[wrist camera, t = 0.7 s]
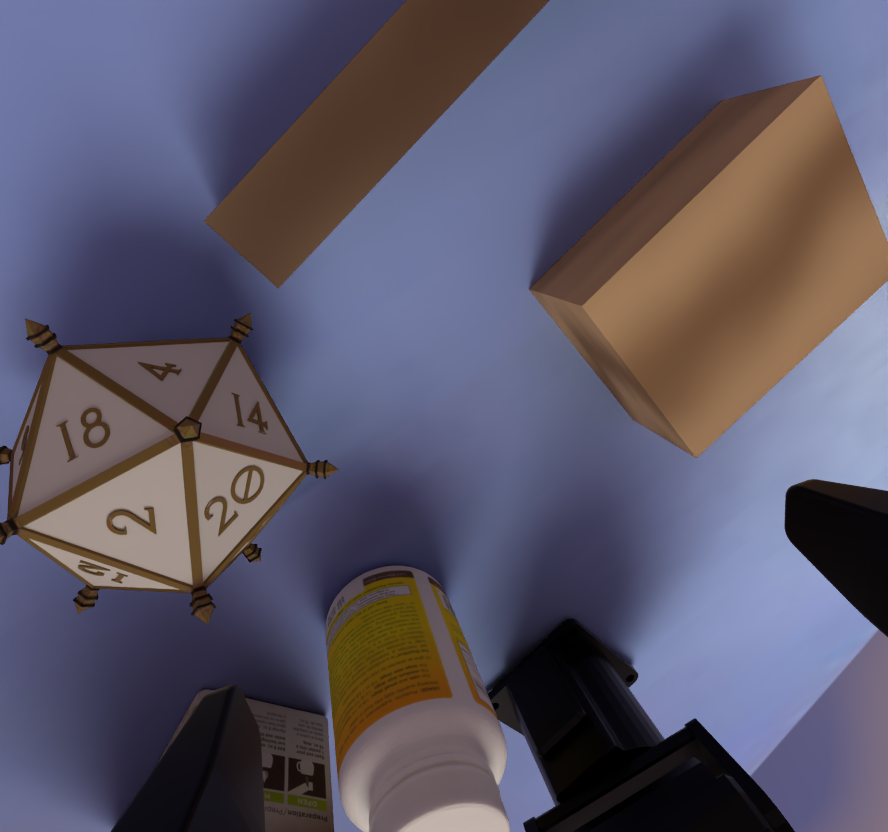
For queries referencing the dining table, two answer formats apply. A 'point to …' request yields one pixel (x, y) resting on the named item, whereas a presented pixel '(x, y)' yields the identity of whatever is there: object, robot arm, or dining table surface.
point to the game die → (150, 463)
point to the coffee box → (290, 766)
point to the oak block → (723, 264)
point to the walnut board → (362, 127)
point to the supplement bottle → (410, 710)
